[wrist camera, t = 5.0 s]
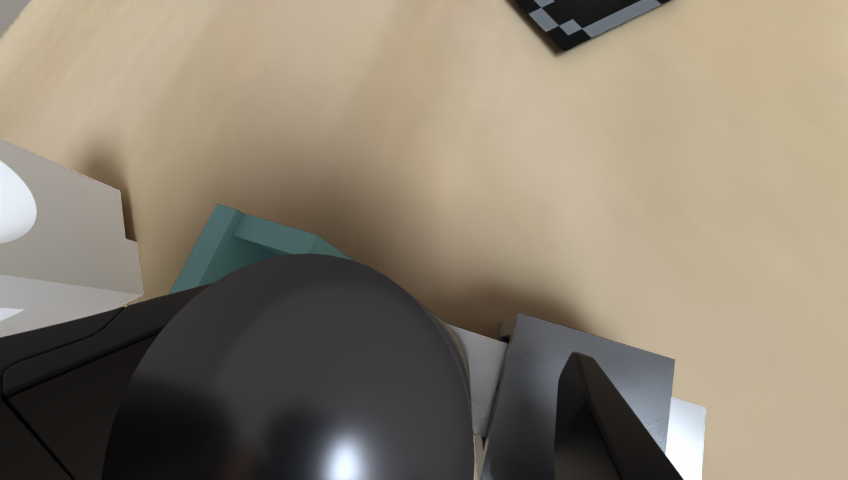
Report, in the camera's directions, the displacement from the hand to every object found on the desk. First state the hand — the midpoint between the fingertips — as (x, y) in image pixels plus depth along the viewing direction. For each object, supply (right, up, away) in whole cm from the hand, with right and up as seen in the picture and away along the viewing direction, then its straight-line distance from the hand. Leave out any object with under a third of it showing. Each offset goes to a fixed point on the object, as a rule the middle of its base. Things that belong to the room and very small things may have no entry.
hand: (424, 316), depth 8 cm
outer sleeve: (+5, -5, +6) cm, 9 cm away
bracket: (-23, -1, +12) cm, 26 cm away
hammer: (+3, -4, +5) cm, 7 cm away
